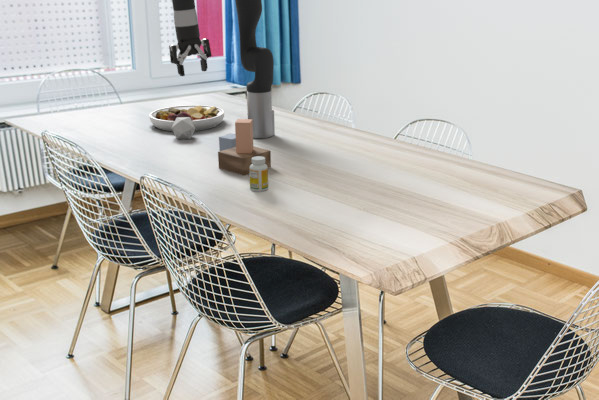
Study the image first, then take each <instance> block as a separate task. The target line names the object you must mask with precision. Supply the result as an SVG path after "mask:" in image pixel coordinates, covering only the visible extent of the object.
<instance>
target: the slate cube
mask: <svg viewBox="0 0 599 400" xmlns="http://www.w3.org/2000/svg"><path fill="white" fill-rule="evenodd" d="M218 144H219V146H218V147H219V151H222V150H226V149H230V148H233V147H236V134H235V133H231V132H230V133H228V134H223V135H220V136H218Z"/></svg>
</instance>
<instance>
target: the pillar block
mask: <svg viewBox="0 0 599 400" xmlns="http://www.w3.org/2000/svg"><path fill="white" fill-rule="evenodd" d="M234 129H235V131H234V132H235V133H234V134H236V153H252V151H253V149H254V148H253V146H254V138H253V119H248V118H237V119H236V120H235V122H234Z"/></svg>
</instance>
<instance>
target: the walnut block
mask: <svg viewBox="0 0 599 400" xmlns="http://www.w3.org/2000/svg"><path fill="white" fill-rule="evenodd" d="M253 148H254V149H253V151H252V153H236V147H233V148H230V149H226V150H222V151H220V150H219V151H217V161H218V169H220V170H223V171H227V172H230V173H233V174H237V175H239V176H240V175H241V176H244V177H245V176H248V175H250V169H249V168H250V165H251V164H253V163H252V157H256V156H262V157H265V163H264V164H266V165H267V167H268V169H270V168H272V158H271V157H272V154H271V150H269V149H266V148H262V147H259V146H257V147H256V146H254V145H253Z"/></svg>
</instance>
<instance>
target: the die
mask: <svg viewBox="0 0 599 400" xmlns="http://www.w3.org/2000/svg"><path fill="white" fill-rule="evenodd" d="M172 130H173V131H172V132H173V134H174V136H175V138H176V139H177V140H190V139H191V138H192V136H193V134H194V132H196V131H195V127H194V125H193V122H192V120H191V118H190V117H177V118H176V120H175V122H174V124H173V126H172Z"/></svg>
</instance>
